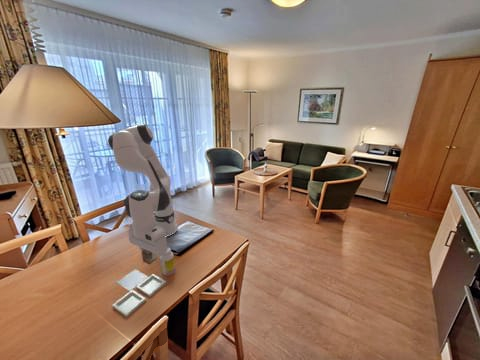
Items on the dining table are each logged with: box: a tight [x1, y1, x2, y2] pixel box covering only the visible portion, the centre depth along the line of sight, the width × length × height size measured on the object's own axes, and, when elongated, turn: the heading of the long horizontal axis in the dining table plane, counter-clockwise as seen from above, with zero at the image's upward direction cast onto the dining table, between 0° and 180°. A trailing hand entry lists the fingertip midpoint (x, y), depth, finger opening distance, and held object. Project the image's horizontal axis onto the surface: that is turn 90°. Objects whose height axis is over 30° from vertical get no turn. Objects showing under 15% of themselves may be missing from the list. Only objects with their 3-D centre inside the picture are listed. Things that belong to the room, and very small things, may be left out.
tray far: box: [112, 289, 147, 318], centre depth 90 cm, size 9×9×2 cm
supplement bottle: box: [159, 246, 176, 276], centre depth 106 cm, size 7×7×13 cm
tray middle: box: [135, 273, 167, 298], centre depth 99 cm, size 9×9×2 cm
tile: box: [115, 268, 149, 292], centre depth 102 cm, size 10×10×1 cm
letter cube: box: [141, 250, 158, 265], centre depth 94 cm, size 4×4×5 cm
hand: (149, 256), depth 94 cm, fingers closed on letter cube, 4 cm apart
